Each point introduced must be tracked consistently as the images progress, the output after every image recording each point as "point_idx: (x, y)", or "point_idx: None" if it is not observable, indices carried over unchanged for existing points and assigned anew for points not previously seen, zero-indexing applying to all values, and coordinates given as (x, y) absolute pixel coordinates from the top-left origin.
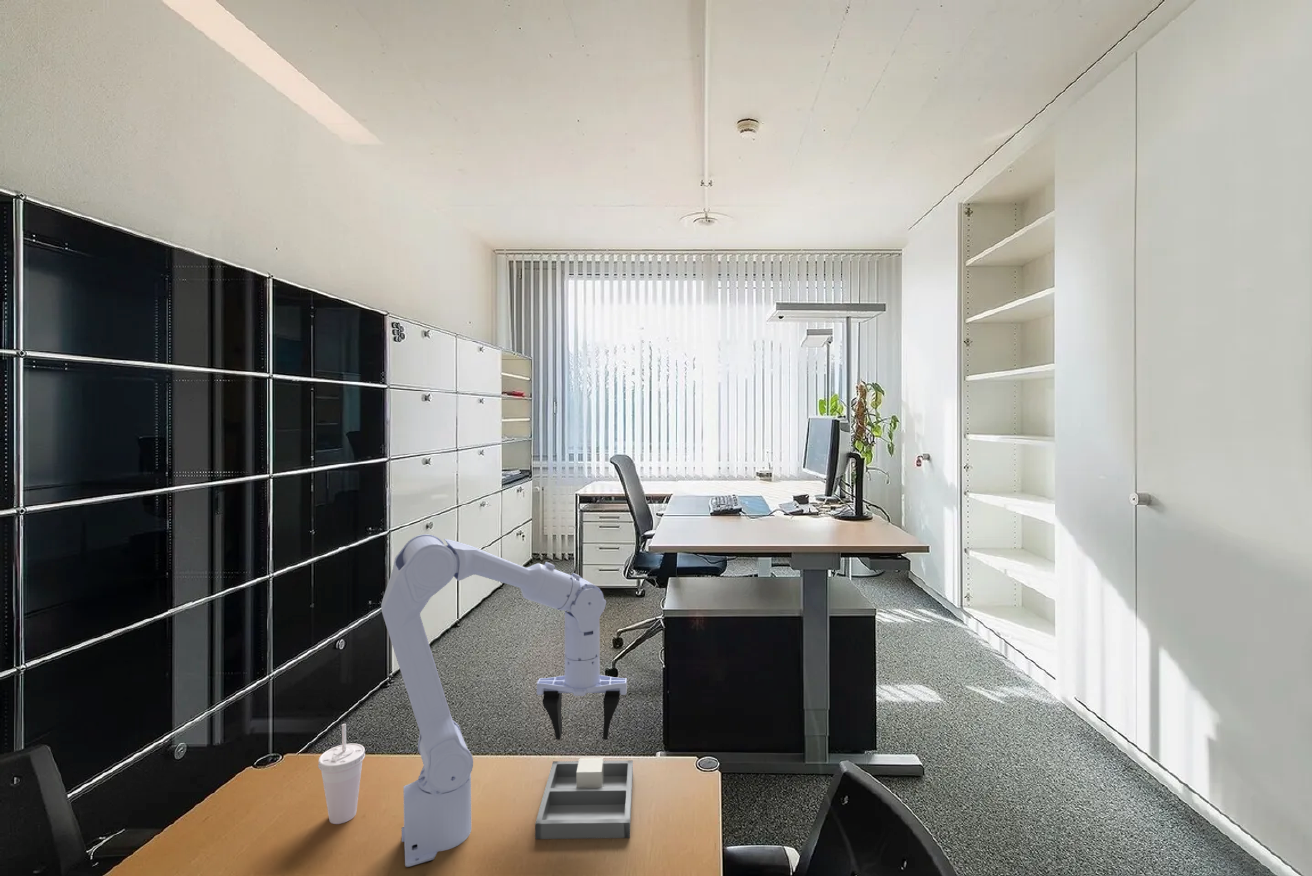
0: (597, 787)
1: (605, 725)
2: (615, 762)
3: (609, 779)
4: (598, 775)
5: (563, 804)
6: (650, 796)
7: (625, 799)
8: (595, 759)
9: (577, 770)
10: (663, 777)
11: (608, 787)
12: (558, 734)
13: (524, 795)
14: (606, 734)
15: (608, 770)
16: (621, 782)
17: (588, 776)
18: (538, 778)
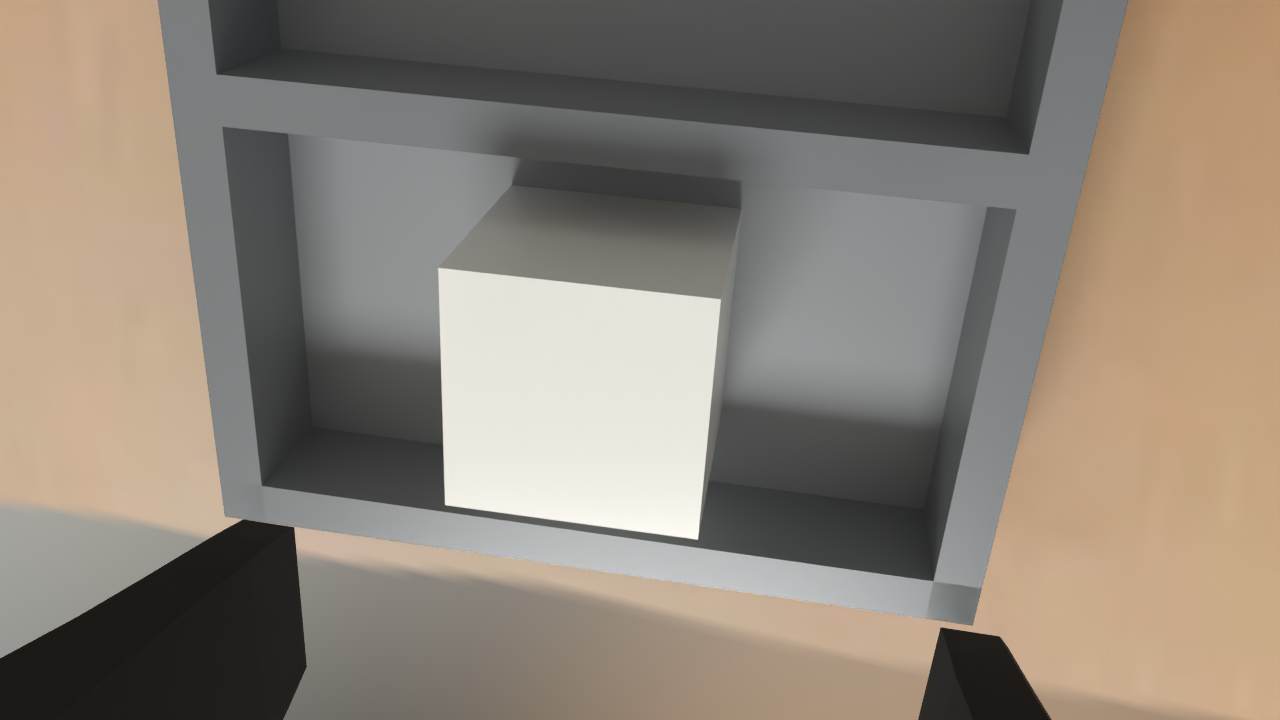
0: (526, 218)
1: (117, 641)
2: (374, 514)
3: None
4: (481, 256)
5: (867, 107)
6: (127, 193)
7: (266, 58)
8: (522, 489)
9: (709, 333)
10: (65, 408)
11: None
12: (977, 678)
13: (1231, 352)
14: (195, 551)
15: None
16: (356, 353)
17: (592, 265)
18: (1085, 553)
